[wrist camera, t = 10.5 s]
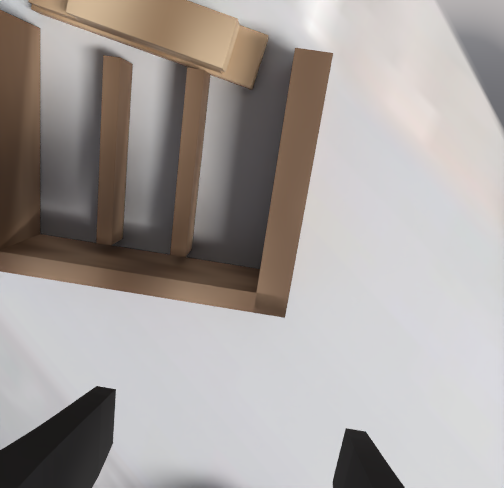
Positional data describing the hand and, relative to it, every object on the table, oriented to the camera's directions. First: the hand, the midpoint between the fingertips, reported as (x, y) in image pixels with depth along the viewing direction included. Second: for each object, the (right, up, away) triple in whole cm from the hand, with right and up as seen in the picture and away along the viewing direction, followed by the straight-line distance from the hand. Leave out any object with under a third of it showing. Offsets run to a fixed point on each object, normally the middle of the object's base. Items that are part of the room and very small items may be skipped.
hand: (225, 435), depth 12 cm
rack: (-4, +10, +8) cm, 14 cm away
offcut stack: (-4, +16, +7) cm, 18 cm away
